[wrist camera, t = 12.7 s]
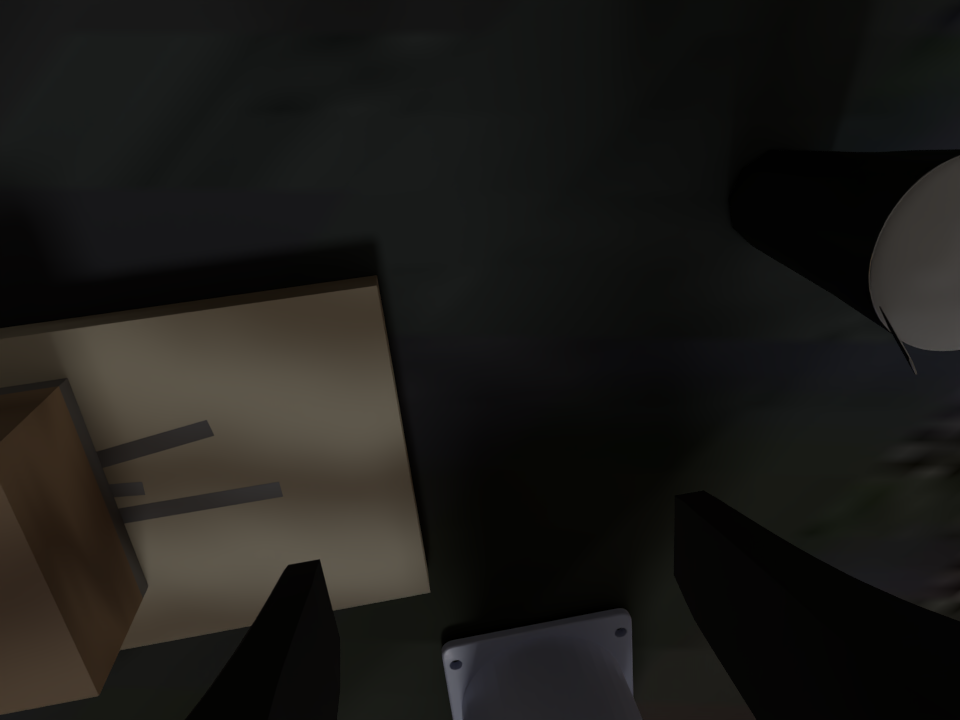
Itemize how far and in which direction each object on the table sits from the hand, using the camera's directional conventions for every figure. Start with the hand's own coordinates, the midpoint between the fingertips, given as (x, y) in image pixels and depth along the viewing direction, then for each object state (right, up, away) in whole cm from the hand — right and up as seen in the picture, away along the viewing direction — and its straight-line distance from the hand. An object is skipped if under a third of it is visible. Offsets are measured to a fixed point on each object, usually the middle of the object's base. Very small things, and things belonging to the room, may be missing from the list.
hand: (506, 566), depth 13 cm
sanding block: (-14, 0, +8) cm, 16 cm away
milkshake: (+9, +9, +9) cm, 16 cm away
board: (-11, 0, +10) cm, 15 cm away
